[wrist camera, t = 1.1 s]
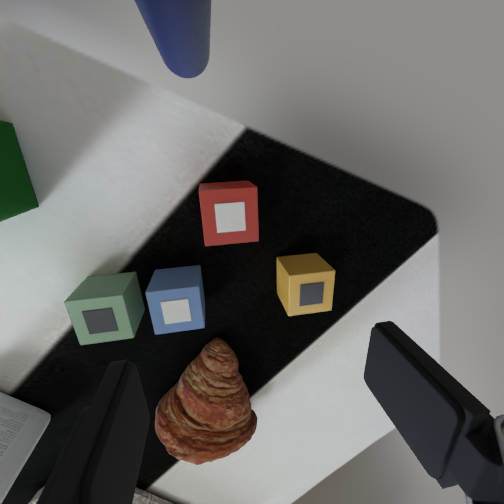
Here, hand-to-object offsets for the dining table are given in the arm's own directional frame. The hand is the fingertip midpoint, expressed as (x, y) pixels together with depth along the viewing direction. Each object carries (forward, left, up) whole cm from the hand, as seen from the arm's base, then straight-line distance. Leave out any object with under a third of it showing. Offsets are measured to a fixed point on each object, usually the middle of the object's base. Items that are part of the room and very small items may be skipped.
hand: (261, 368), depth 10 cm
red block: (-2, 0, -20) cm, 20 cm away
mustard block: (+7, +8, -20) cm, 22 cm away
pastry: (+25, -5, -20) cm, 32 cm away
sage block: (+7, -13, -20) cm, 24 cm away
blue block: (+7, -6, -20) cm, 22 cm away
